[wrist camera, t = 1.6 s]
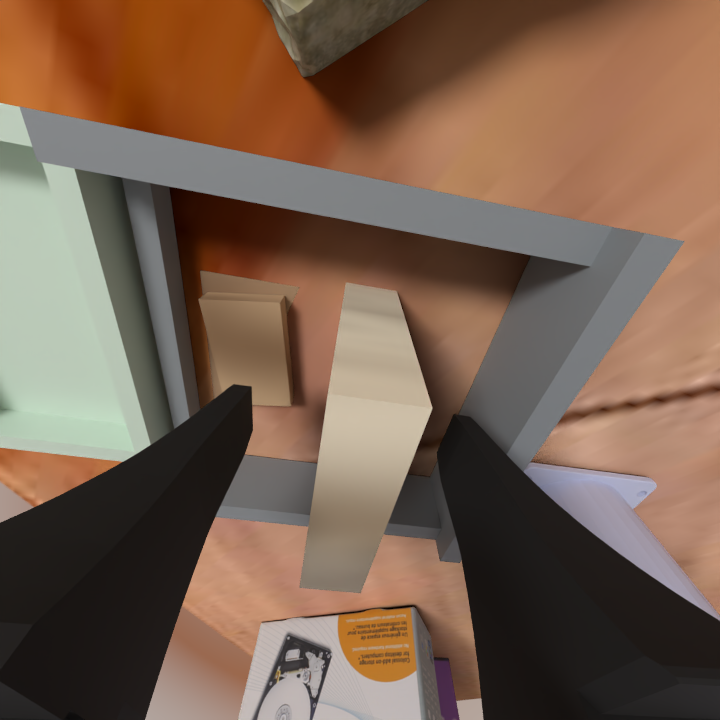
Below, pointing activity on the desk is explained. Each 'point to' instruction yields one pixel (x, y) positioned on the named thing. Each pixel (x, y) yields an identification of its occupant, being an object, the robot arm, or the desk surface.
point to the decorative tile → (331, 26)
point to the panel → (363, 439)
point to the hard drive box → (343, 669)
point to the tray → (72, 312)
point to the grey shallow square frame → (395, 211)
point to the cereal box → (445, 689)
